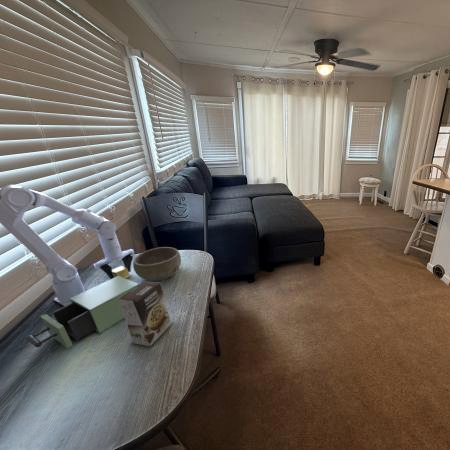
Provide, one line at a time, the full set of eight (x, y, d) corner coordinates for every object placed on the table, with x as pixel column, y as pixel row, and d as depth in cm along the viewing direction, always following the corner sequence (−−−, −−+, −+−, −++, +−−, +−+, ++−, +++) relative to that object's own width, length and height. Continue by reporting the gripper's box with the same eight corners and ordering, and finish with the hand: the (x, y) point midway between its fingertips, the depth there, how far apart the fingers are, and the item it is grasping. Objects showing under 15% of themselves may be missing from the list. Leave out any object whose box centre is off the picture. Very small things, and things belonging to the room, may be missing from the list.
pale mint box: (99, 333, 75) (90, 309, 72) (79, 320, 80) (69, 298, 77) (145, 304, 87) (138, 283, 84) (125, 295, 92) (118, 275, 89)
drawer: (46, 361, 65) (34, 341, 62) (28, 346, 70) (17, 327, 67) (118, 317, 80) (111, 300, 77) (99, 308, 85) (93, 290, 82)
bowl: (190, 273, 107) (185, 253, 103) (146, 292, 94) (139, 270, 91) (173, 261, 117) (169, 242, 114) (132, 276, 105) (125, 256, 101)
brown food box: (151, 346, 70) (136, 301, 64) (132, 343, 71) (116, 299, 65) (172, 324, 78) (161, 282, 72) (155, 321, 79) (143, 280, 74)
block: (113, 279, 103) (110, 270, 102) (124, 274, 107) (121, 265, 105) (119, 281, 101) (116, 272, 100) (129, 276, 105) (127, 267, 104)
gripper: (96, 256, 91) (107, 286, 96) (134, 242, 103) (142, 269, 108) (86, 253, 94) (97, 282, 99) (125, 239, 106) (133, 265, 111)
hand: (120, 275), depth 104 cm, fingers open, 6 cm apart
